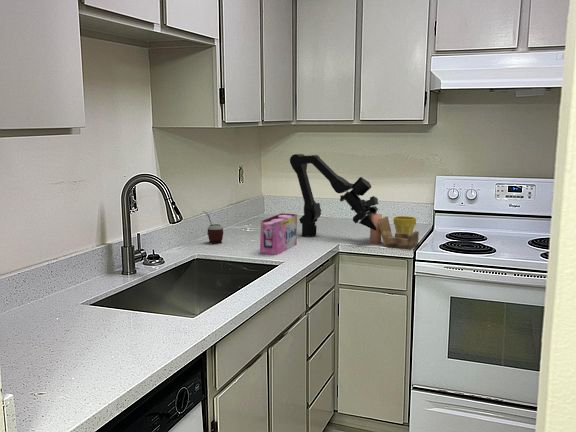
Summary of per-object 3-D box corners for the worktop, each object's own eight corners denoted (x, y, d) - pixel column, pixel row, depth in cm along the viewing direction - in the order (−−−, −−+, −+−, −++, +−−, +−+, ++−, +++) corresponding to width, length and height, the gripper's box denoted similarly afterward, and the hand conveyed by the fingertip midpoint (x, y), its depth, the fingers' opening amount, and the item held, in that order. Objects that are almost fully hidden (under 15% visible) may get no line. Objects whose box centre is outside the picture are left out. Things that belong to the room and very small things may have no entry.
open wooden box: (386, 247, 245) (387, 233, 244) (395, 242, 255) (395, 229, 254) (410, 249, 240) (411, 236, 239) (417, 244, 251) (418, 231, 250)
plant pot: (394, 235, 272) (395, 215, 270) (416, 236, 269) (417, 216, 267) (391, 239, 262) (392, 218, 260) (414, 240, 259) (415, 219, 257)
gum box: (275, 255, 228) (276, 222, 226) (258, 253, 231) (258, 221, 229) (297, 244, 250) (297, 214, 248) (280, 242, 253) (281, 212, 251)
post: (370, 243, 251) (371, 215, 249) (369, 241, 256) (370, 213, 254) (381, 244, 251) (382, 215, 249) (380, 241, 256) (381, 213, 254)
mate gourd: (225, 241, 253) (225, 208, 251) (219, 245, 246) (218, 211, 243) (210, 240, 255) (210, 208, 253) (203, 244, 248) (202, 210, 245)
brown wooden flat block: (377, 245, 248) (377, 219, 246) (384, 241, 257) (385, 215, 255) (386, 246, 246) (387, 219, 244) (393, 242, 255) (394, 216, 253)
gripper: (360, 193, 244) (383, 220, 240) (374, 188, 260) (396, 214, 257) (343, 209, 249) (365, 236, 245) (358, 204, 265) (379, 229, 262)
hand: (377, 228), depth 252 cm, fingers closed on post, 5 cm apart
